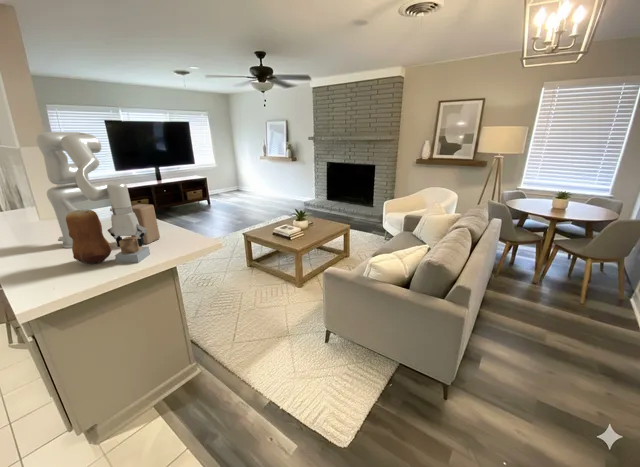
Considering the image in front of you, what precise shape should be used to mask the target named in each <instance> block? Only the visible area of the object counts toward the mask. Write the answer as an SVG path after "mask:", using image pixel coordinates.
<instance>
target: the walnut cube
mask: <svg viewBox="0 0 640 467" xmlns="http://www.w3.org/2000/svg"><path fill="white" fill-rule="evenodd" d="M137 239H138V237H131V236H125V237H124V238H122V240H120V241H119V244H120V247H119V249H120V252H122V253H136V252H137V251H139V250H140V249H142V247H143V246H141V247H139V245H138V241H137Z"/></svg>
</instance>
